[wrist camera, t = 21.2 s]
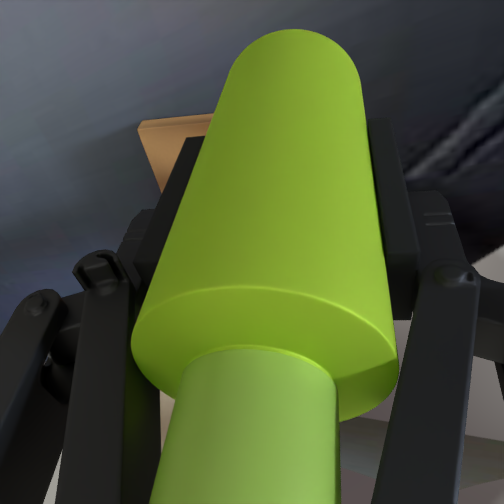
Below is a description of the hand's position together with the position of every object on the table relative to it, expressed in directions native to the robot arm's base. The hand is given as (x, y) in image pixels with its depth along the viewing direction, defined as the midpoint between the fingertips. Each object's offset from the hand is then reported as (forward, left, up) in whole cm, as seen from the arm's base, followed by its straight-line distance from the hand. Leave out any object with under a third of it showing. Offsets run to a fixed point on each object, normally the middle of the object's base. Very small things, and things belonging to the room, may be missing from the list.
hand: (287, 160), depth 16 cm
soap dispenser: (0, 0, -4) cm, 4 cm away
